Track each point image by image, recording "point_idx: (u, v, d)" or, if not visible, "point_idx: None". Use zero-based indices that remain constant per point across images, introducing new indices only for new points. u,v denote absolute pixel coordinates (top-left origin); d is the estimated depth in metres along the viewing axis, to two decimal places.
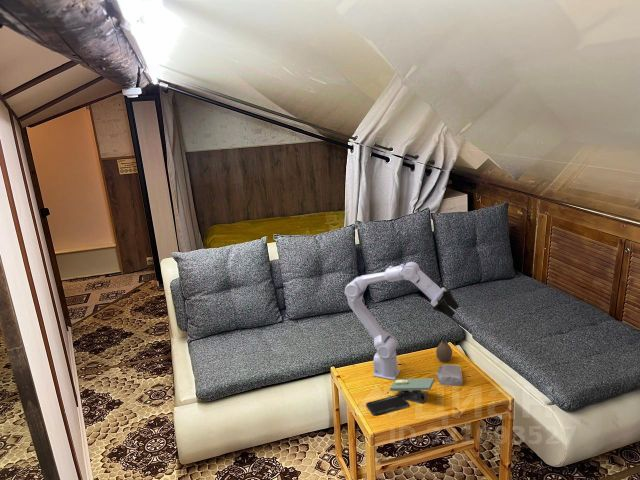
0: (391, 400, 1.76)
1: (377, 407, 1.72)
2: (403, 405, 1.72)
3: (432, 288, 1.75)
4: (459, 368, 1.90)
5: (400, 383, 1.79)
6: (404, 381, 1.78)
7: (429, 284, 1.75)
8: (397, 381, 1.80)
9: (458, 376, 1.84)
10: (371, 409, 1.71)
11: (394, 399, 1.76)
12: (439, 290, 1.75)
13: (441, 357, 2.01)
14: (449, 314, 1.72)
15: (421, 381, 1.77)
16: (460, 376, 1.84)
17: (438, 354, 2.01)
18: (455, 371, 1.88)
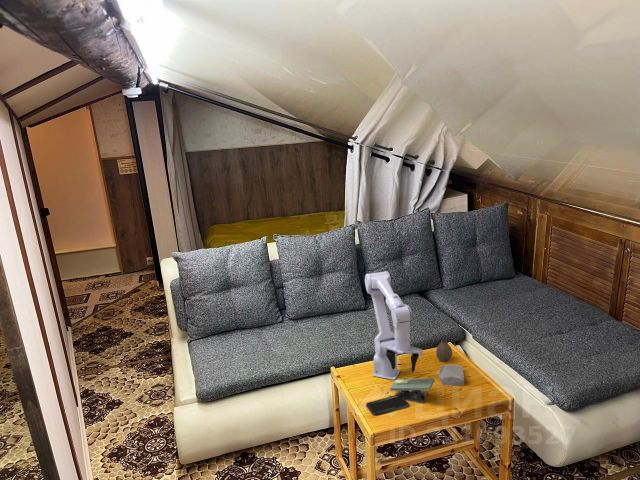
0: (391, 400, 1.76)
1: (377, 407, 1.72)
2: (403, 405, 1.72)
3: (395, 341, 1.74)
4: (461, 368, 1.90)
5: (400, 383, 1.79)
6: (404, 381, 1.78)
7: (399, 339, 1.72)
8: (397, 381, 1.80)
9: (459, 376, 1.83)
10: (371, 409, 1.71)
11: (394, 399, 1.76)
12: (398, 349, 1.74)
13: (441, 357, 2.01)
14: None
15: (421, 381, 1.77)
16: (462, 376, 1.84)
17: (438, 354, 2.01)
18: (457, 371, 1.87)
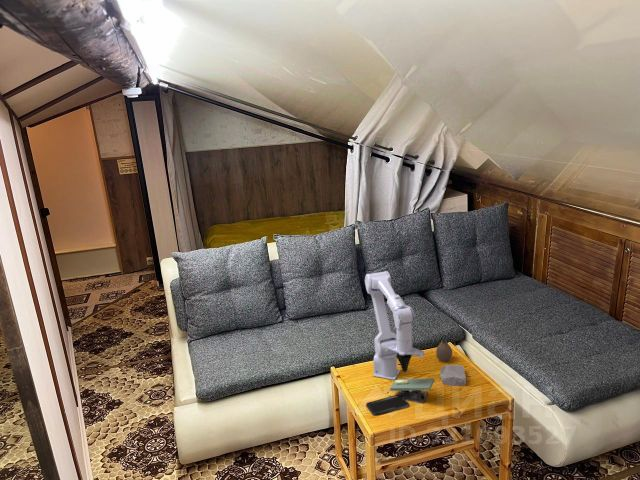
0: (391, 400, 1.76)
1: (377, 407, 1.72)
2: (403, 405, 1.72)
3: (397, 342, 1.74)
4: (462, 368, 1.90)
5: (400, 383, 1.79)
6: (404, 381, 1.78)
7: (401, 340, 1.72)
8: (397, 381, 1.80)
9: (461, 376, 1.83)
10: (371, 409, 1.71)
11: (394, 399, 1.76)
12: (399, 350, 1.74)
13: (441, 357, 2.01)
14: None
15: (421, 381, 1.77)
16: (464, 376, 1.83)
17: (438, 354, 2.01)
18: (458, 371, 1.87)
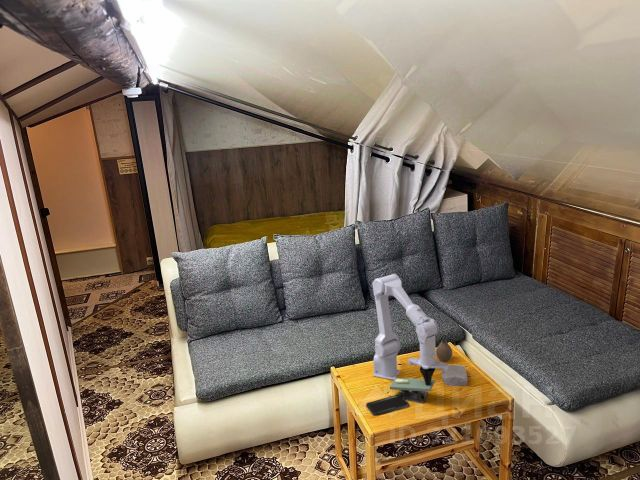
0: (391, 400, 1.76)
1: (377, 407, 1.72)
2: (403, 405, 1.72)
3: (420, 356, 1.71)
4: (464, 368, 1.90)
5: (400, 382, 1.79)
6: (404, 381, 1.78)
7: (427, 354, 1.69)
8: (397, 380, 1.80)
9: (463, 376, 1.83)
10: (371, 409, 1.71)
11: (394, 399, 1.77)
12: (423, 363, 1.70)
13: (441, 357, 2.01)
14: None
15: (421, 382, 1.77)
16: (465, 376, 1.83)
17: (438, 354, 2.01)
18: (460, 371, 1.87)
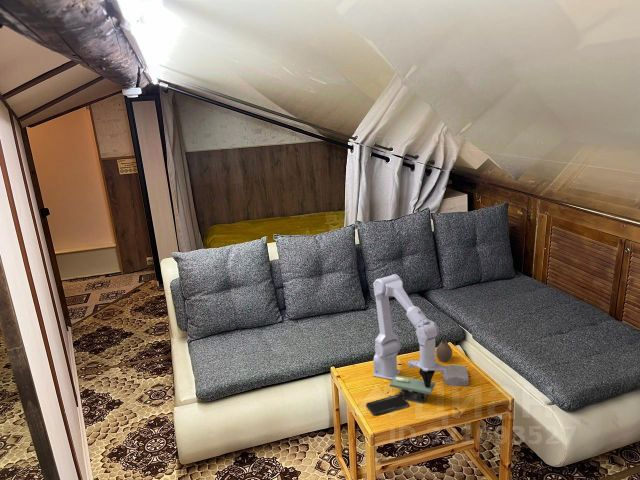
0: (391, 400, 1.76)
1: (377, 407, 1.72)
2: (403, 405, 1.72)
3: (420, 358, 1.71)
4: (465, 368, 1.90)
5: (400, 381, 1.79)
6: (405, 380, 1.78)
7: (427, 356, 1.69)
8: (398, 378, 1.79)
9: (464, 376, 1.83)
10: (371, 409, 1.71)
11: (394, 399, 1.77)
12: (422, 365, 1.71)
13: (441, 357, 2.01)
14: None
15: (422, 383, 1.77)
16: (466, 376, 1.83)
17: (438, 354, 2.01)
18: (461, 371, 1.87)
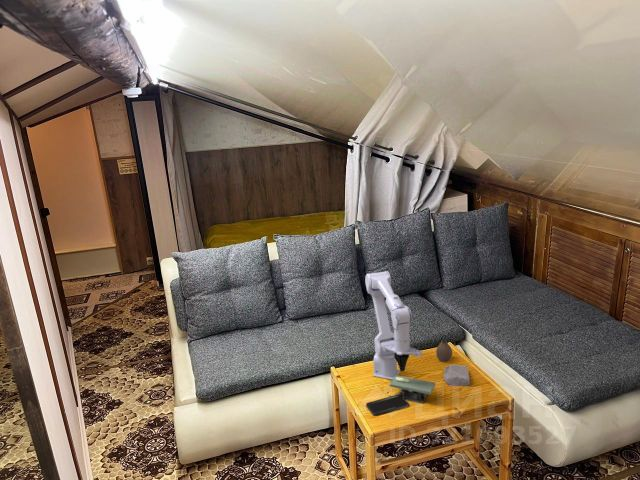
0: (391, 400, 1.76)
1: (377, 407, 1.72)
2: (403, 405, 1.72)
3: (394, 342, 1.75)
4: (466, 368, 1.90)
5: (400, 381, 1.79)
6: (405, 380, 1.78)
7: (399, 340, 1.72)
8: (398, 378, 1.79)
9: (465, 376, 1.83)
10: (371, 409, 1.71)
11: (394, 399, 1.77)
12: (397, 349, 1.74)
13: (441, 357, 2.01)
14: None
15: (422, 383, 1.77)
16: (467, 376, 1.83)
17: (438, 354, 2.01)
18: (462, 371, 1.87)
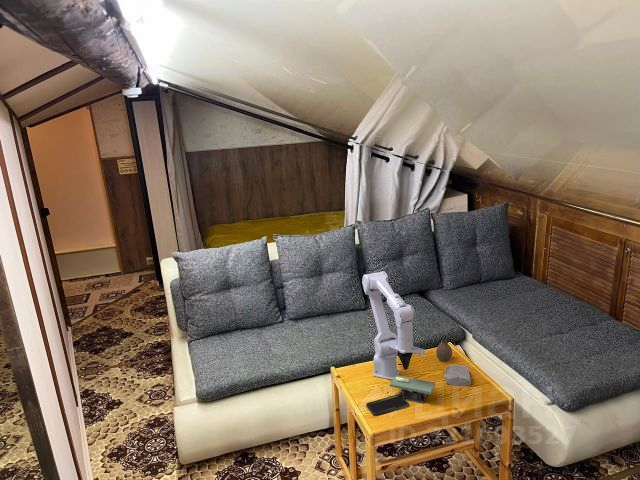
0: (391, 400, 1.76)
1: (377, 407, 1.72)
2: (403, 405, 1.72)
3: (398, 341, 1.76)
4: (466, 368, 1.90)
5: (400, 381, 1.79)
6: (405, 380, 1.78)
7: (403, 338, 1.73)
8: (398, 378, 1.79)
9: (466, 376, 1.83)
10: (371, 409, 1.71)
11: (394, 399, 1.77)
12: (400, 348, 1.75)
13: (441, 357, 2.01)
14: None
15: (422, 383, 1.77)
16: (468, 376, 1.83)
17: (438, 354, 2.01)
18: (463, 371, 1.87)
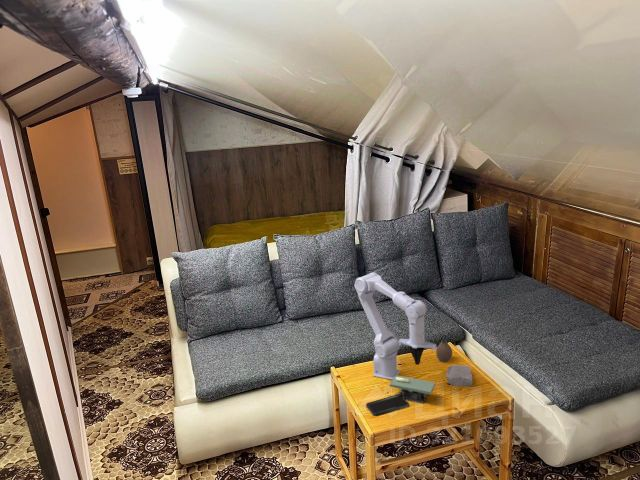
0: (391, 400, 1.76)
1: (377, 407, 1.72)
2: (403, 405, 1.72)
3: (410, 336, 1.79)
4: (468, 368, 1.90)
5: (400, 381, 1.79)
6: (405, 380, 1.78)
7: (418, 334, 1.76)
8: (398, 378, 1.79)
9: (468, 376, 1.83)
10: (371, 409, 1.71)
11: (394, 399, 1.77)
12: (412, 343, 1.78)
13: (441, 357, 2.01)
14: None
15: (422, 383, 1.77)
16: (470, 376, 1.83)
17: (438, 354, 2.01)
18: (465, 371, 1.87)
